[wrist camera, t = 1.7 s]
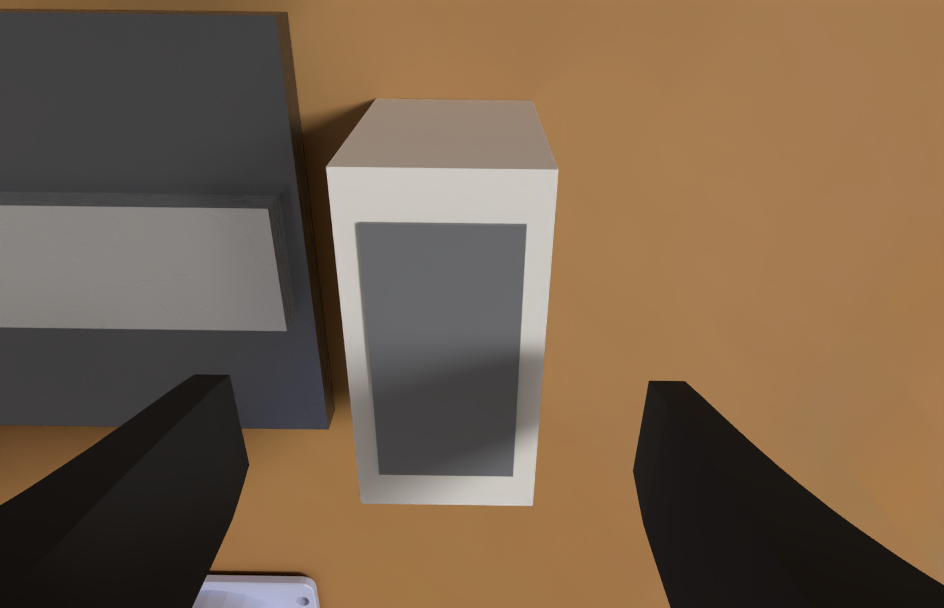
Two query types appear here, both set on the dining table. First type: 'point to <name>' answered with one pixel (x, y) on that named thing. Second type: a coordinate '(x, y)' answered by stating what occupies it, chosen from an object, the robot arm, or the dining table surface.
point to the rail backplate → (155, 218)
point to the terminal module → (444, 296)
